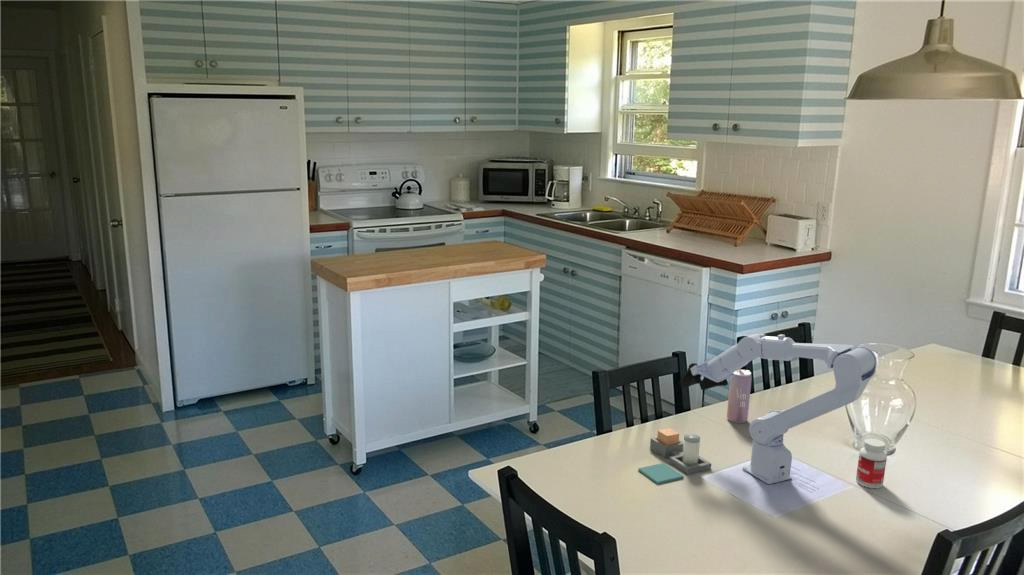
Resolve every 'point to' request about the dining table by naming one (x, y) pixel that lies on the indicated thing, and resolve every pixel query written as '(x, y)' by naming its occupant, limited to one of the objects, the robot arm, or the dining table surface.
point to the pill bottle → (871, 464)
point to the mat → (660, 473)
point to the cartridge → (691, 449)
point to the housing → (678, 456)
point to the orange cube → (668, 437)
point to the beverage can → (739, 396)
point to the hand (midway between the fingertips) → (691, 385)
